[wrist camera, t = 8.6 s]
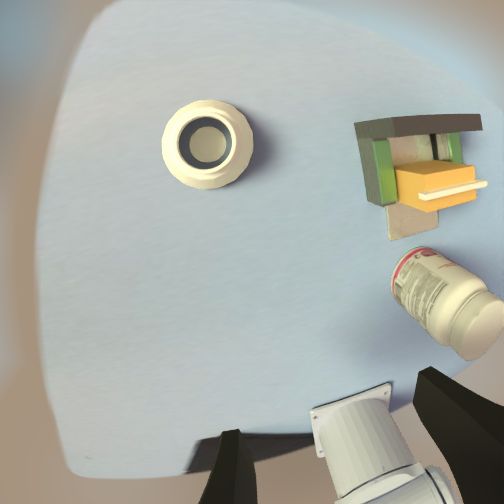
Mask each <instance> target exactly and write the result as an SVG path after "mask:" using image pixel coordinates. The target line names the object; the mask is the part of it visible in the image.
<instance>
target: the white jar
mask: <svg viewBox="0 0 504 504" xmlns="http://www.w3.org/2000/svg"><path fill="white" fill-rule="evenodd" d="M201 117H211V118H215V119H218V120H220V121H221V122H223V123H224V124H225V125H226V126H227V128H228V129H229V131H230V133H231V136H232V149H231V152H230V154H229V156H228V157H227V159H226V160H225V161H224V162H223V163H222V164H220V165H219V166H217V167H214V168H211V169H198V168H195V167H193V166H191V165H189V164H188V163H187V162H186V161H185V160H184V159H183V157H182V156H181V153H180V151H179V137H180V134H181V132H182V130H183V129H184V128H185V126H186V125H187V124H188V123H190V122H191V121H193V120H195V119H197V118H201ZM189 147H190V151H191V153H192V155H193V156H194V157H195V158H196V159H197V160H199V161H201V162H213V161H216V160H217V159H219V158H220V157H221V156H222V155H223V153H224V151H225V149H226V139H225V137H224V135H223V133H222V132H221V131H220V130H218V129H216V128H214V127H203V128H200V129H198V130H197V131H196V132H195V133H194V134H193V135H192V137H191V139H190V143H189ZM162 152H163V159H164V161H165V163H166V165H167V167H168V168H169V170H170V172H171V173H172V174H173V175H174V176H175V177H176V178H178V179H179V180H180V181H181V182H182V183H184V184H186V185H189V186H192V187H195V188H198V189H211V188H220V187H222V186H224V185H226V184H228V183H230V182H232V181H234V180H236V179H237V177H238V176H239V175H240V174H241V173H242V172H243V171H244V170H245V169H246V168H247V166H248V164H249V161H250V158H251V155H252V153H253V132H252V130H251V128H250V126H249V124H248V122H247V120H246V118H245V116H244V115H243V114H241V113H240V112H239V111H238V110H237V109H235V108H234V107H233V106H232V105H230V104H227V103H223V102H220V101H217V100H203V101H195V102H193V103H191V104H189V105H187V106H185V107H183V108H181V109H179V110H178V112H177V113H176V114H175V115H174V116H173V117H172V118H171V120H170V121H169V122H168V123H167V126H166V129H165V132H164V135H163V137H162Z"/></svg>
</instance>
